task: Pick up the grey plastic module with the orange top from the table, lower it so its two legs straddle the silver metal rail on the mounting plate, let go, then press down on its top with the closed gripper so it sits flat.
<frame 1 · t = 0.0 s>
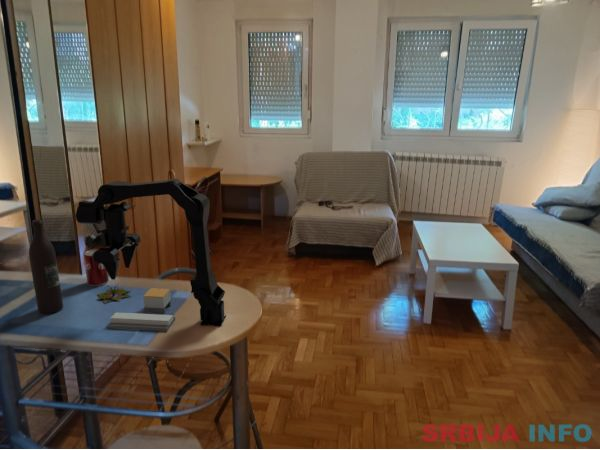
hand: (120, 273, 133), 15 cm above the table, tool pointing down, fingers open, 9 cm apart
module: (158, 309, 142), on the table
lily flower: (114, 297, 151), on the table
wine bottle: (51, 310, 141), on the table
soda can: (98, 283, 161), on the table
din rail: (142, 323, 133), on the table
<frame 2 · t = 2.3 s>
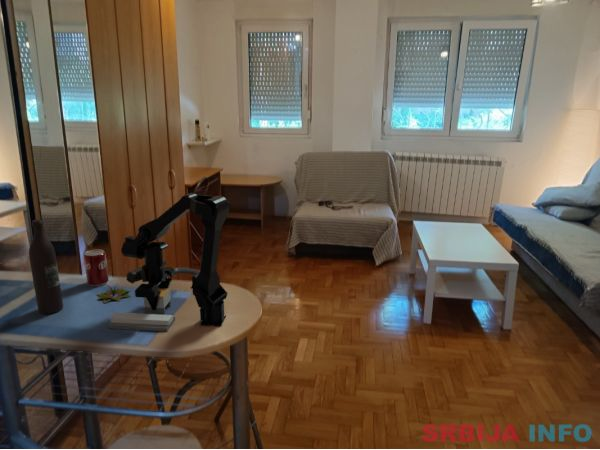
hand: (158, 305, 142), 1 cm above the table, tool pointing down, fingers closed on module, 6 cm apart
module: (158, 308, 142), on the table, touching gripper
everything else where it was.
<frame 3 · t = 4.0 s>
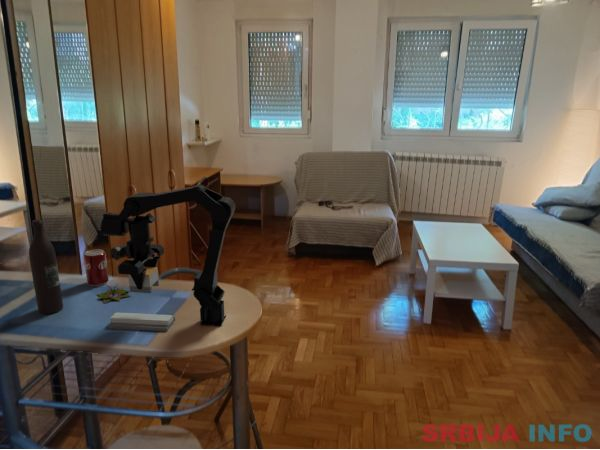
hand: (144, 284, 133), 12 cm above the table, tool pointing down, fingers closed on module, 6 cm apart
module: (144, 288, 133), point 10 cm above the table, touching gripper
everything else where it was.
when the fingers open (3 cm above the table, at t = 5.8 s): module stays where it is, resting on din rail.
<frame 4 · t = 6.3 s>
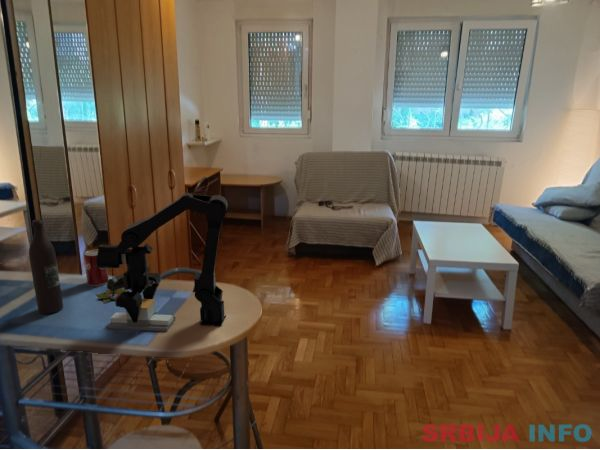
hand: (141, 314, 132), 3 cm above the table, tool pointing down, fingers open, 9 cm apart
module: (142, 320, 132), point 1 cm above the table, touching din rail
everything else where it was.
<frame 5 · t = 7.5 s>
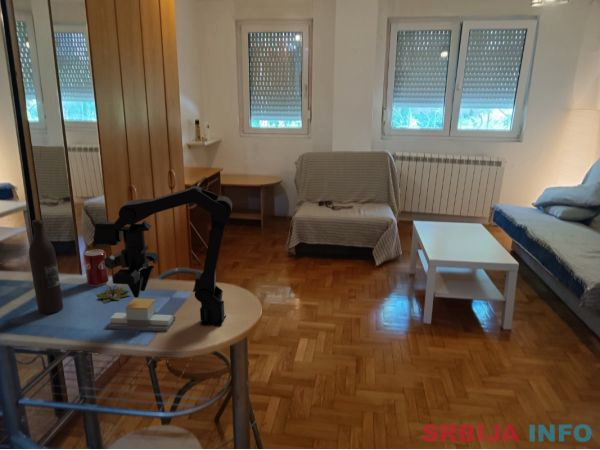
hand: (139, 294, 130), 10 cm above the table, tool pointing down, fingers open, 4 cm apart
nothing on the table moved.
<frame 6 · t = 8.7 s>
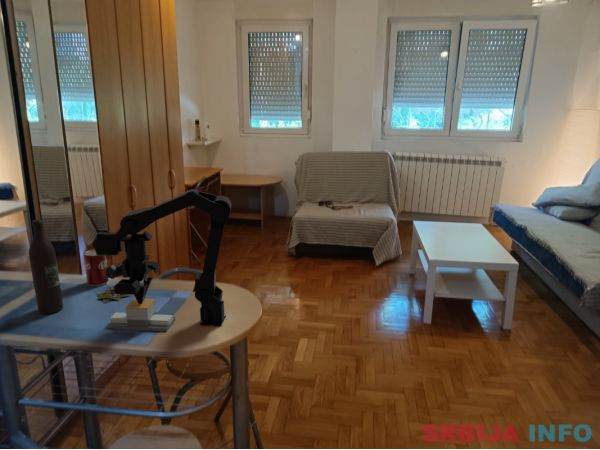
hand: (140, 303, 131), 7 cm above the table, tool pointing down, fingers closed, pressing on module
module: (142, 320, 132), point 1 cm above the table, touching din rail, gripper
everything else where it was.
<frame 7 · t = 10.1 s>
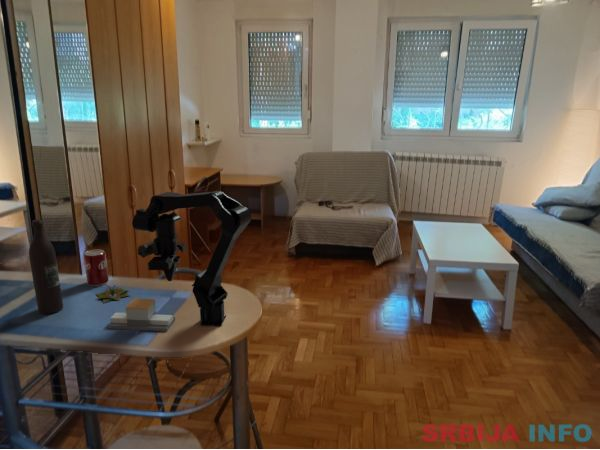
hand: (169, 280, 138), 11 cm above the table, tool pointing down, fingers closed
module: (142, 320, 132), point 1 cm above the table, touching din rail
everything else where it was.
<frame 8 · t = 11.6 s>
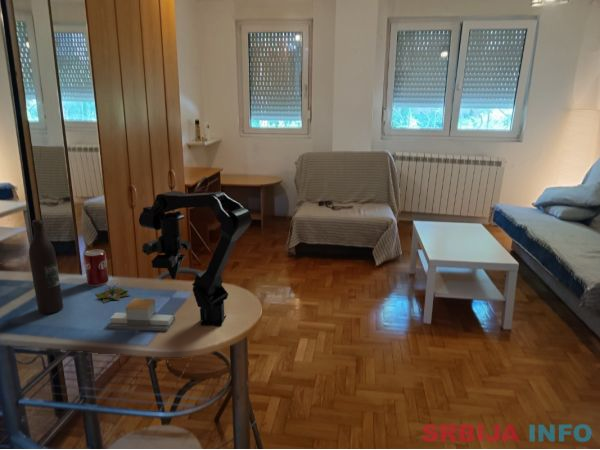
hand: (173, 278, 139), 11 cm above the table, tool pointing down, fingers closed
nothing on the table moved.
at the end: module 0.0 cm off-centre on the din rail, point 1.0 cm above the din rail's base; module tilted 0°; the gripper is holding nothing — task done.
